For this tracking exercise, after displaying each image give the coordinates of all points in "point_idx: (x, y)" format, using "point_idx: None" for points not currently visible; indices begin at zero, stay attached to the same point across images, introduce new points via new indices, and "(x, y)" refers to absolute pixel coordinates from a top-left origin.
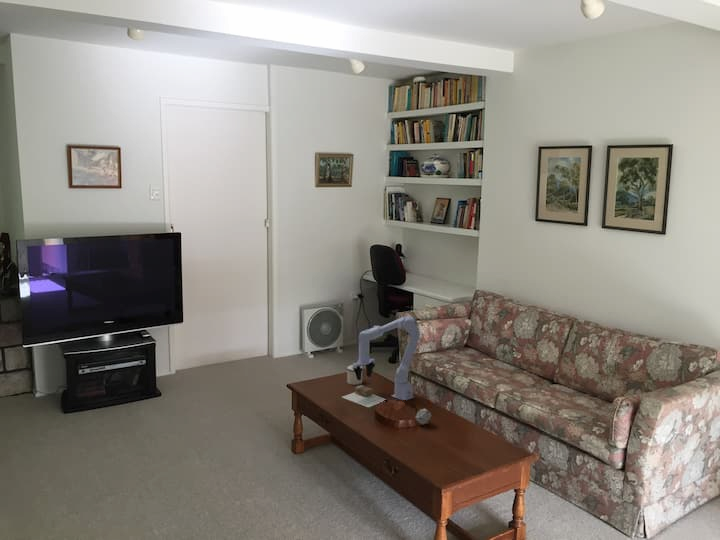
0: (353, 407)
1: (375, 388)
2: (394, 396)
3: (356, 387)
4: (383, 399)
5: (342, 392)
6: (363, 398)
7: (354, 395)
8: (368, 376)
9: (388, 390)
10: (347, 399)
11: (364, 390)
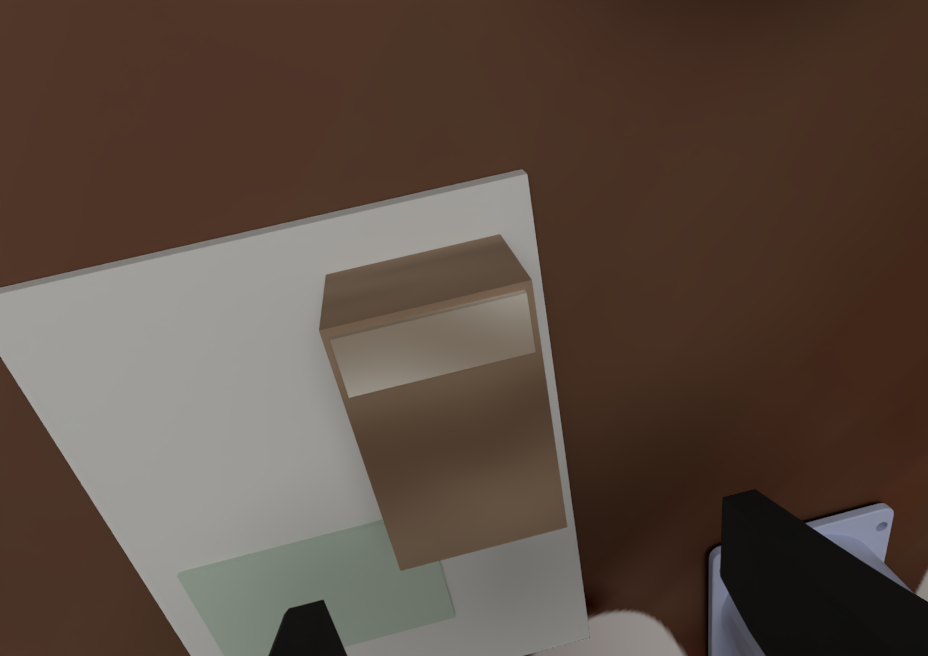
0: (64, 651)
1: (813, 189)
2: (725, 587)
3: (337, 363)
4: (553, 616)
5: (129, 7)
6: (340, 505)
7: (267, 349)
8: (722, 544)
9: (869, 361)
10: (58, 447)
11: (399, 538)
